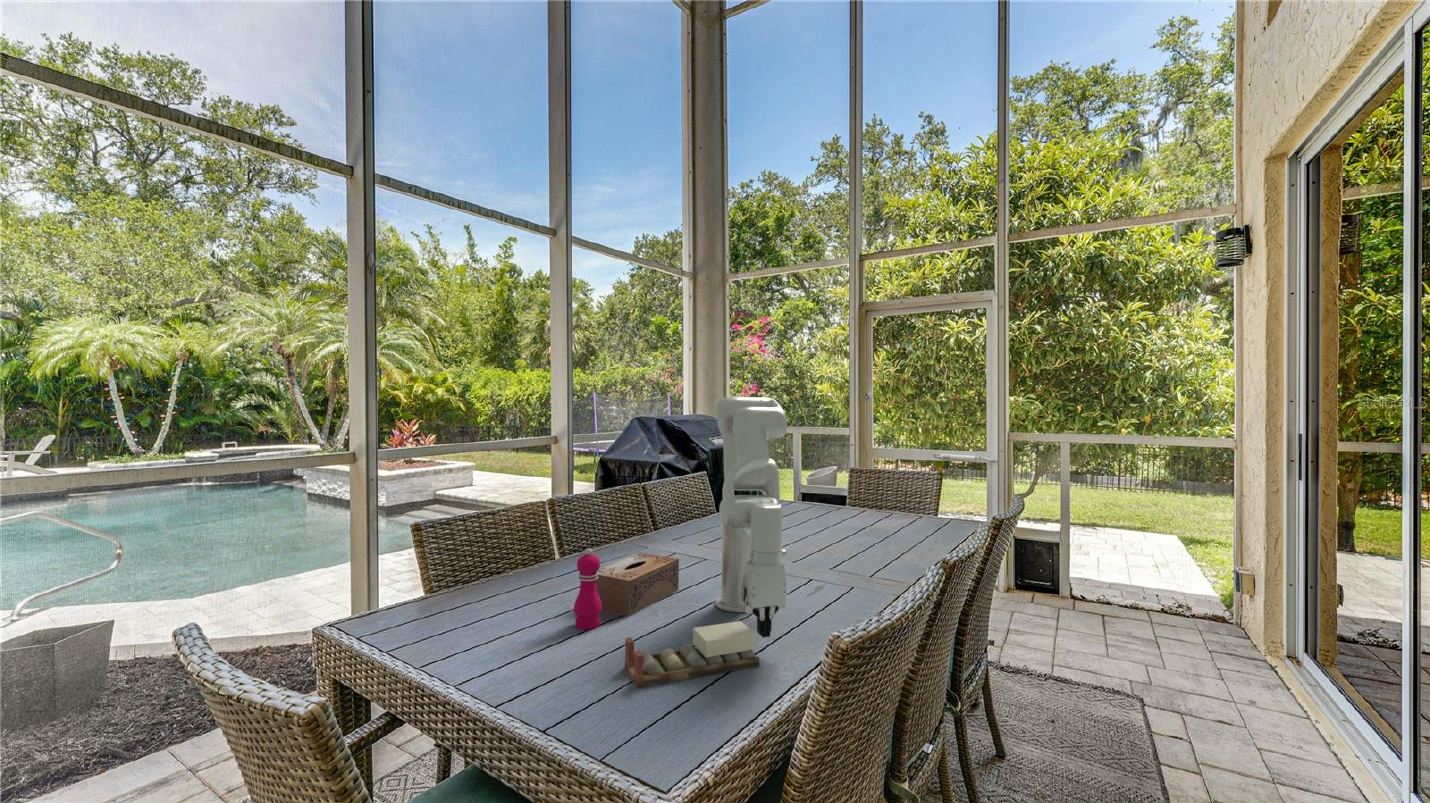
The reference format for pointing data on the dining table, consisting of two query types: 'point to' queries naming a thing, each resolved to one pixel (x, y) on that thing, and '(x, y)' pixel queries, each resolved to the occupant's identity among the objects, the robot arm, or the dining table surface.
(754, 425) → the robot arm
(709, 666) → the track
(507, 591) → the dining table surface
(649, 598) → the tissue box cover
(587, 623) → the pepper mill
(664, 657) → the roller
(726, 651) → the slab
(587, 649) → the dining table surface
